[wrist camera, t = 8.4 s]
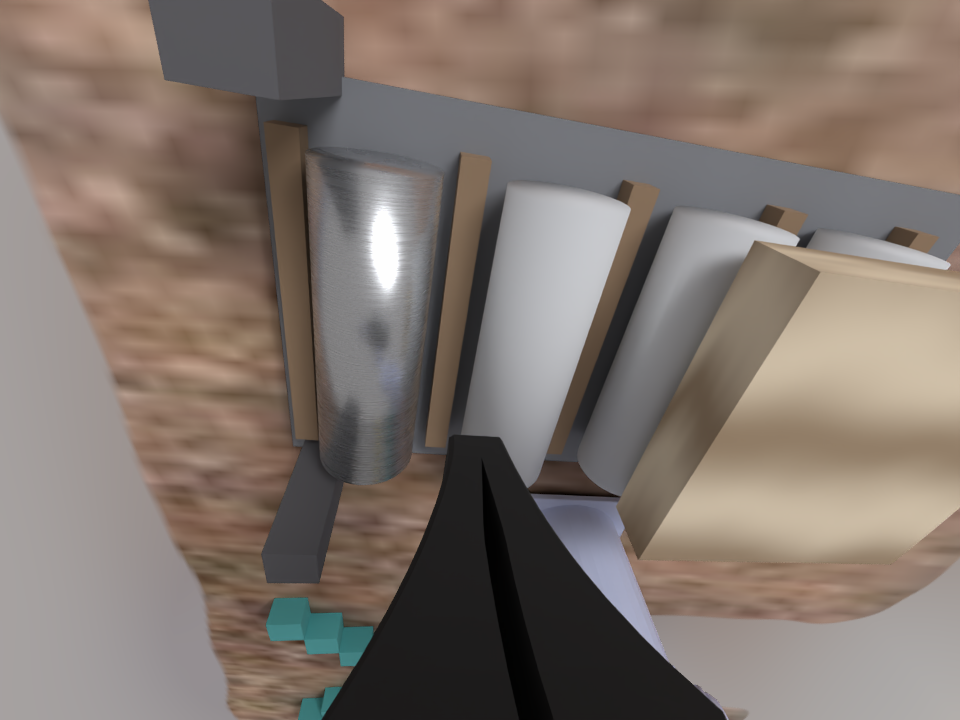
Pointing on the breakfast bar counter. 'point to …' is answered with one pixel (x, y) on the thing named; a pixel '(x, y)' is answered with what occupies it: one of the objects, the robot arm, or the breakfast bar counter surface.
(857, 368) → the slab
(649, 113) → the breakfast bar counter surface
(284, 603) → the alien figure
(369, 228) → the loose roller
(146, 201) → the breakfast bar counter surface
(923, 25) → the breakfast bar counter surface
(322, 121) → the roller bed
